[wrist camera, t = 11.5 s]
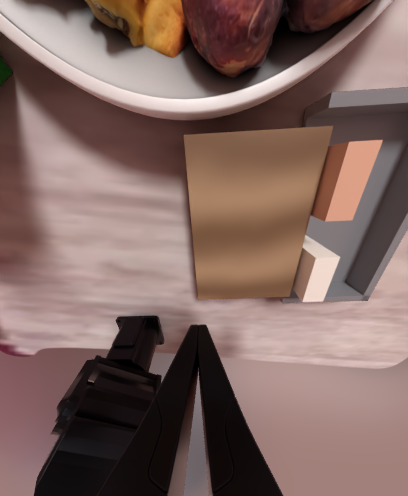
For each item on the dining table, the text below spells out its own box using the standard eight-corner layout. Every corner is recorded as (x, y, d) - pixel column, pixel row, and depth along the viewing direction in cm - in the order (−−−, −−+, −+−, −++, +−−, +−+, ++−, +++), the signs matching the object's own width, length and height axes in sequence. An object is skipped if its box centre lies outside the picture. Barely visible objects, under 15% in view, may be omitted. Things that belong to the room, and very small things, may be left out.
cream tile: (280, 272, 20) (296, 271, 20) (302, 302, 15) (323, 301, 15) (287, 235, 18) (305, 235, 18) (316, 258, 13) (340, 257, 13)
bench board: (274, 274, 21) (289, 296, 17) (199, 277, 21) (198, 299, 17) (300, 137, 14) (333, 125, 10) (188, 143, 14) (183, 134, 11)
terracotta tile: (291, 207, 16) (311, 206, 16) (324, 221, 12) (352, 220, 12) (303, 151, 14) (325, 149, 14) (349, 141, 9) (383, 139, 9)
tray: (346, 284, 21) (367, 300, 18) (272, 286, 21) (282, 303, 19) (429, 100, 13) (490, 81, 10) (305, 108, 13) (332, 92, 10)
